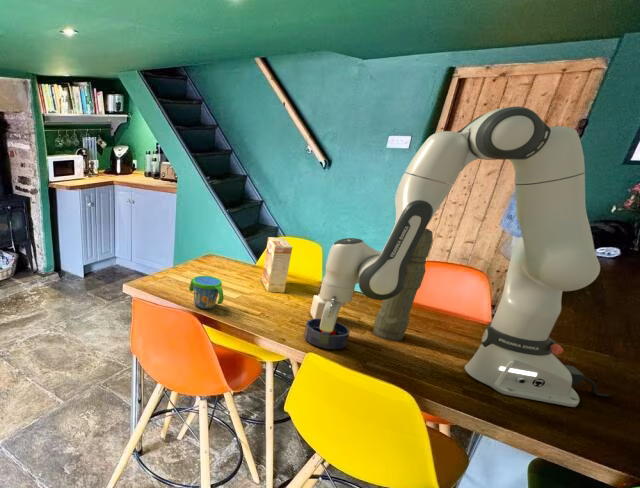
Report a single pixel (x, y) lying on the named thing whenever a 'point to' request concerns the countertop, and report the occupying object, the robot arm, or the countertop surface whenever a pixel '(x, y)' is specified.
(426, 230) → the olive grey tall cylinder
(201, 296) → the snack cup
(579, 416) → the countertop surface
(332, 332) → the tomato
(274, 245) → the coffeecake box
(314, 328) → the bowl
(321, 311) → the medicine bottle
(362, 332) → the countertop surface
